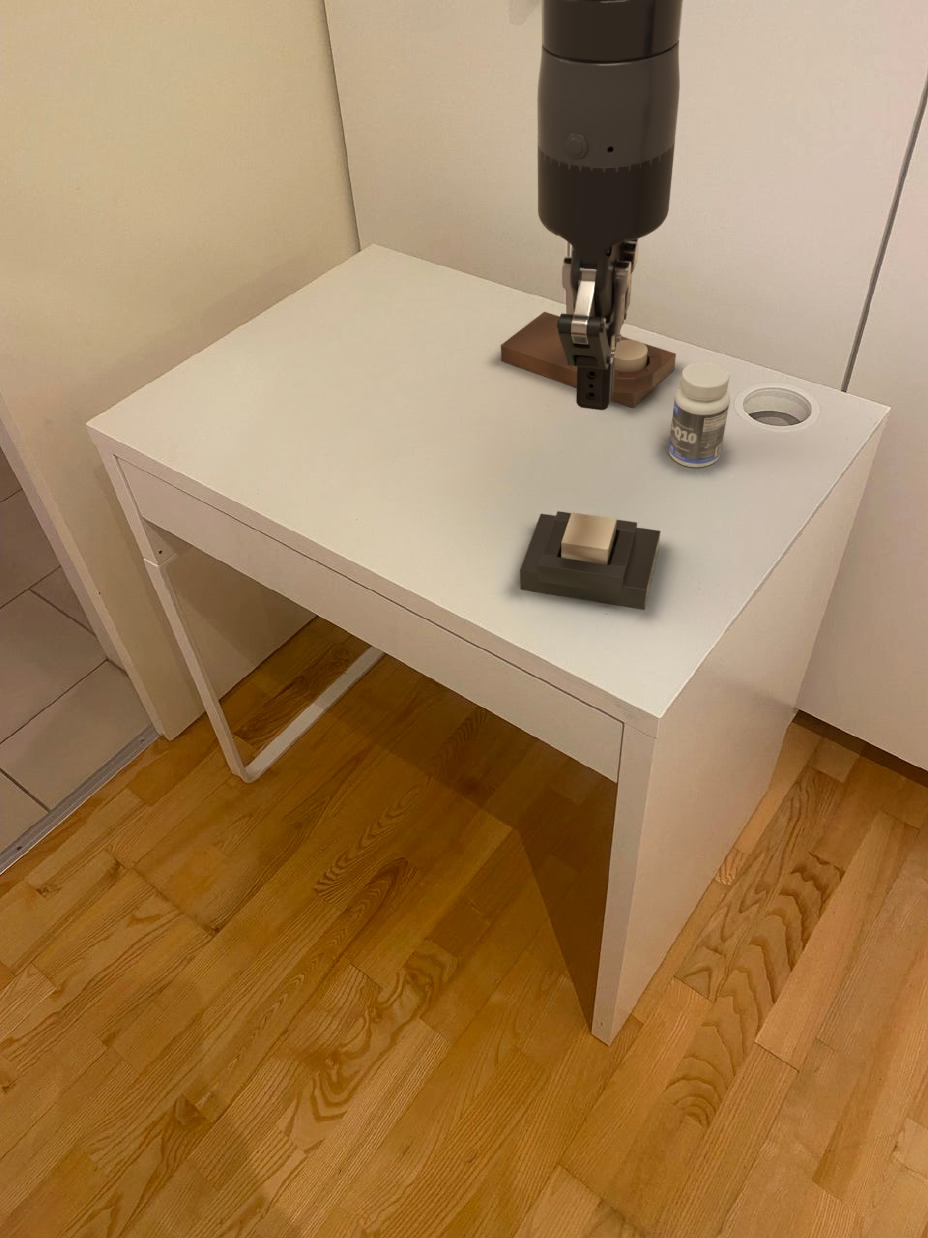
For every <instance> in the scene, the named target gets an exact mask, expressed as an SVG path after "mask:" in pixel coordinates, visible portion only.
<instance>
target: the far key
mask: <svg viewBox="0 0 928 1238" xmlns="http://www.w3.org/2000/svg"><path fill="white" fill-rule="evenodd" d="M643 343H644V342H642V341H639V340H635V339H632V340H622V341H621V342H619V344H618V347H617V348H615V349H616V355H615V370H618V371H621V372H636V371H639V370H642V369H644V368H645V367H646V364H647V352H648V349H647V347H646V345H645V344H646V343H644V344H643Z"/></svg>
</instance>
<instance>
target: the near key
mask: <svg viewBox="0 0 928 1238" xmlns="http://www.w3.org/2000/svg"><path fill="white" fill-rule="evenodd" d="M570 513H571V515H570V518H569V521H568V524H567V527H566V530H565V533H564V536H563V539H562V542H561V558H567V559H574V560H580V561H587V562H593V563H599V564H606V565H607V564H608V561H609V557H610V553H611V550H612V546H613V543H614V539H615V536H616V523H617V520H618V519H617V518H613V517H607V516H606V517H605V516H600V515H592V514H585V513H577V512H570Z"/></svg>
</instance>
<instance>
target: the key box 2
mask: <svg viewBox="0 0 928 1238" xmlns="http://www.w3.org/2000/svg"><path fill="white" fill-rule="evenodd" d="M571 513H572V512H567V511H559V510H557V512H556V514H549V513H548V514H547V513H540V514H539V517H538V519H537V522H536V525H535V528H534V530H533V533H532V536H531V538H530V541H529V544H528V547H527V550H526V552H525V554H524V557H523V559H522V563H521V565H520V569H519V584H520V590H522V591H529V592H536V593H541V594H547V595H554V596H560V597H566V598H572V599H578V600H583V601H584V600H585V601H590V602H597V603H601V604H607V605H614V606H621V607H625V608H626V607H627V608H632V609H637V610H638V609H639V610H645V609H646V604H647V601H648V596H649V592H650V587H651V584H652V579H653V575H654V571H655V566H656V563H657V558H658V554H659V549H660V541H661V540H660V539H661V530H658V529H650V528H644V527H638V522H637V521H629V520H623V519H617V523H616V536H615V539H614V543H613V546H612V550H611V553H610V557H609V561H608V564H607V565H606V564H599V563H593V562H587V561H580V560H574V559H567V558H561V542H562V539H563V536H564V533H565V530H566V527H567V524H568V521H569V518H570V515H571Z"/></svg>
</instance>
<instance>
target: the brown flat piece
mask: <svg viewBox="0 0 928 1238" xmlns="http://www.w3.org/2000/svg"><path fill="white" fill-rule="evenodd" d="M559 318H560V315H556V314H553V313H550V312H548V311H543V312H541V314H539V315H537V317H535V318H534V319H532V320H531V321H530V322H529V323H527V324H526V325H525V326H524V327H522V328H521V329H519V330H518V331H517V332H516V333H514V334H513V335H512V336H511V337H509V338H508V339H507V340H505V341H504V342H503V343H501V344H500V360H501V362H503V363H505V364H509V365H511V366H514V367H517V368H520V369H523V370H526V371H528V372H531V373H534V374H536V375H539V376H542V377H545V378H548V379H551V380H553V381H556V382H559V383H561V384H565V385H567V386H570V387H573V388H576V389H577V367H575V366H568V363H567V360H566V356H565V353H564V350H563V347H562V344H561V340H560V337H559V334H558V329H557V321H558V320H559ZM622 340H633V339H631V338H628V337H625V336H622V335H621V341H622ZM642 343H643V344H645V345H646V347H647V349H648V352H647V364H646V367H645V368H644V369H642V370H639V371H636V372H621V371H618V370H615V371H614V388H613V394H612V397H611V400H610V401H612V402H615V403H618V404H621V405H623V406H626V407H629V408H632V409H635V408H636V407H637V406H638V404H640V403H641V402H642V401H643V400H644V399H645V398H646V397H647V396H649V394H651V392H653V390H655V389H656V388H657V387H658V386H659V385H660V384H661V383H662V382H663V381H664V380H665V379H667V377H668V376H670V374H671V373H672V372H674V371H675V366H676V358H677V357H676V356H677V353H676V352H673V351H669V350H665V349H663V348H660V347H656V346H653V345H649V344H647V343H644V342H642Z"/></svg>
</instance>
